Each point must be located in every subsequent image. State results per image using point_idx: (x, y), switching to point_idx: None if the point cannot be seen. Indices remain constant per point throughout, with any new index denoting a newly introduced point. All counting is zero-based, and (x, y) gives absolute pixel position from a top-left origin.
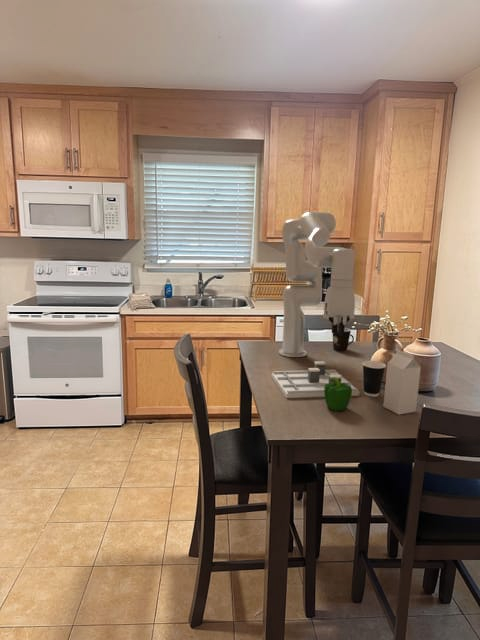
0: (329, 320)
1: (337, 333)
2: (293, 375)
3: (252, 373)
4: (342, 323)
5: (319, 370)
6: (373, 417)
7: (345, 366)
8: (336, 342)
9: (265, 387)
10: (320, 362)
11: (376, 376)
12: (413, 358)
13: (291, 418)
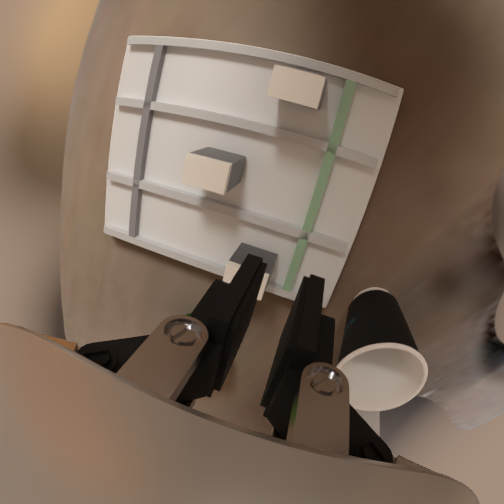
0: (117, 348)
1: (243, 336)
2: (188, 73)
3: (102, 2)
4: (277, 417)
5: (222, 193)
6: (256, 393)
7: (499, 31)
8: None
9: (88, 131)
10: (294, 91)
11: (357, 378)
12: None
13: (98, 318)
